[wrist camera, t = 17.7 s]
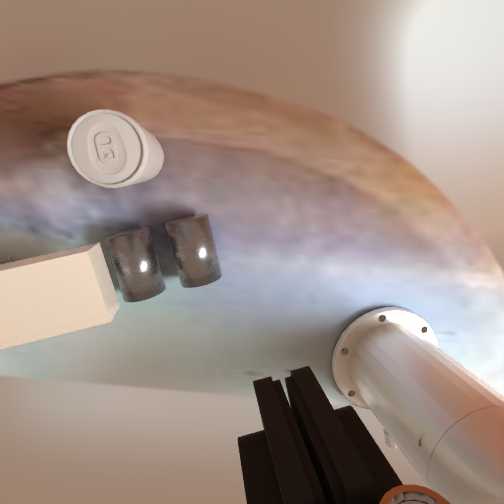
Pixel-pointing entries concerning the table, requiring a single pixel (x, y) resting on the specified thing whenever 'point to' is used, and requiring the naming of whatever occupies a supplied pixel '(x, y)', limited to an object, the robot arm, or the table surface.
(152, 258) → the cylinder
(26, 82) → the table surface
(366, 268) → the table surface
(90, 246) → the slab
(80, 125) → the beverage can
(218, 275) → the cylinder
